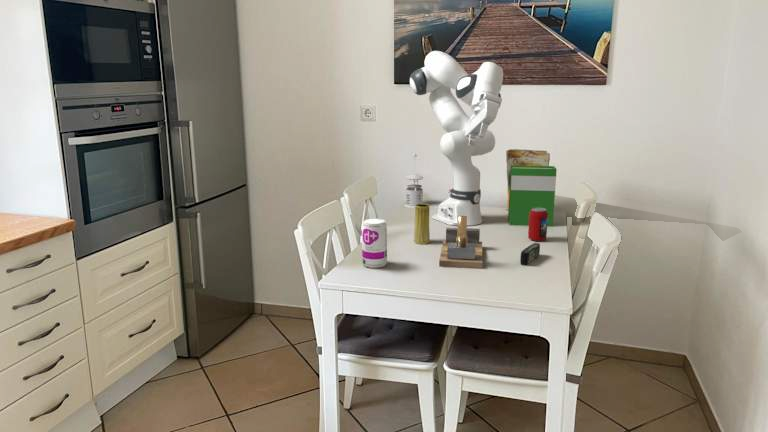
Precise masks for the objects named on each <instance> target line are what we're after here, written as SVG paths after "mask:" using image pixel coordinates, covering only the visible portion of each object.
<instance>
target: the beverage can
mask: <svg viewBox="0 0 768 432" xmlns="http://www.w3.org/2000/svg"><path fill="white" fill-rule="evenodd" d="M547 222H548V213H547V211H546V209H545V208H532V210H531V211H530V214H529V226H528V235H527V237H528V239H529V240H530V241H533V242H544V241H545V240H546V239H547V233H548V226H547Z"/></svg>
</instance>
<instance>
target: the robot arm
mask: <svg viewBox="0 0 768 432" xmlns="http://www.w3.org/2000/svg"><path fill="white" fill-rule="evenodd" d="M423 64H424V66H423V67H421V68H417V69H416V70H414V71H412V73H411V74H410V76H409V85H410V88H411V90H412V91H413V93H414V94H416V95H417V96H423V95H426V94H429V97H428V101H429V104H430V106H431V109H432V112H433V113H434V116H435V117H436V118H437V121H438V122H439V124H440V125H441V127H442V128H443V130H445V132H447V133H444V134H443V135H442V136H441V138H440V140H439V141H440V142H439V149H440V151H441V153H442V154H443V155H444V156H445V157H446V158H447V159H448V161H449V163H450V165H451V167H452V171H453V172H452V173H453V175H452V176H453V187H452V188H451V189H448V190H447V191H448V193H450V194H449V197H447V198H446V199H445V200H443V201H442V202H440V203H439V205H438V206H437V213H435V214H433V215H432V216H431V218H432V219H433V220H436V221H438V222H441V223H444V224H447V225H449V226H458V216H460V215H464V216H467V226H476V225H481V224H482V223H483V219H482V218H483V217H482V212H481V195H482V193H481V191H482V190H481V188H480V187H481V171H480V169H479V168H478V167H477V166H475V165H474V164H473V161H472V157H476V156H483V155H486V154H488V153H491V152H492V151H493V150H494V148H495V146H496V138H495V137H496V136H495V135H494V133H493V132H492V131H491V130H490V129H489V126H490V125H492V123H493V122H495V120H496V118H497V115H498V112H499V109H500V107H501V104H502V101H503V97H502V95H501V90H502V85H503V81H504V69H503V68H502V66H500V65H499V64H497V63H496V62H493V61H486V62H485V61H484V62H483V63H482V64H481V65H480V66H479V68H478V69H477V70H476V71H474V72H473V73H472V74H468V72H466V70H465V69H464V68H463V67H462V66H461V65H460V64H459V62H457V60H456V59H455V58H454V57H452V56H451V55H450V54H448V53H445V52H444V51H440V50H433V51H430V52H429V53H428V54H427V55H426V56H425V58H424V63H423ZM451 89H452V90H455V95H456V97H455V95H454V94H453V92H452V90H451ZM457 99H459V100H460V101H462V102H463V103H465V105H467V106H469V107H470V108H471V111H472V112H473V114H472V115H471V116H470V117H469V116H468V114H467V113H466V111H465V110H464V109H463V108H462V106H461V104H460V103H459V101H458V100H457Z"/></svg>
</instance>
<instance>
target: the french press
mask: <svg viewBox="0 0 768 432" xmlns="http://www.w3.org/2000/svg"><path fill="white" fill-rule="evenodd" d="M412 157H414V159H413V160H414V161H413V163H414V164H413V165H414V166H413V167H414V170H413V171H414V172H413V173H412V174H409V175H407V176H406V177H405V178H406V180H411V181H413V184H412V183H411V184H407V185H406V187H407V188H406V189H405V204H404V206H403V207H404V208H408V209H415V205H416V204H424V203H423V202H424V201H423V196H424V195H423V193H424V192H423V190H424V189H423V188H422V187H423V185H421V184H419V181H420V180H423V179H424V177H423V176H422V175H420V174H417V173H416V172H415V171H416V163H415V162H416V157H417V154H416V153H413V154H412ZM415 183H417V184H415Z"/></svg>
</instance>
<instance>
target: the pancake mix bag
mask: <svg viewBox="0 0 768 432" xmlns="http://www.w3.org/2000/svg"><path fill="white" fill-rule="evenodd" d="M550 154H551V153H550V152H548V151H547V150H533V149H518V148H515V149H508V150H506V156H505V157H506V159H505V160H506V161H505V162H506V180H507V205H506V208H505V210H506V211H509V191H510V171H511V165H516V166H550V160H551V158H550V157H551V155H550Z"/></svg>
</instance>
